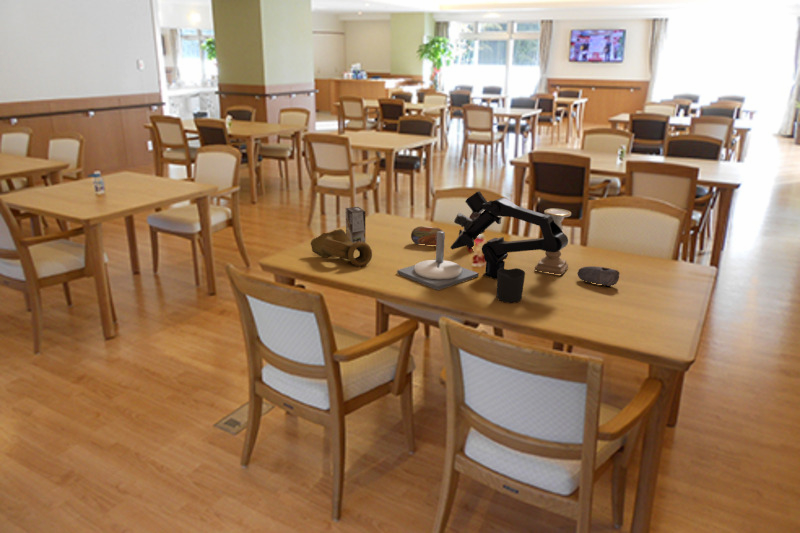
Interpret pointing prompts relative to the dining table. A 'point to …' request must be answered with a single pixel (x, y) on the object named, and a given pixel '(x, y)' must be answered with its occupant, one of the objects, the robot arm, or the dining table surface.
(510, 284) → the pen holder
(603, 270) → the perforated stone tool
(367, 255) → the brown looped sculpture
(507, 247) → the robot arm
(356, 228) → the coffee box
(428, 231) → the tin
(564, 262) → the candle holder
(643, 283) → the dining table surface
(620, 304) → the dining table surface
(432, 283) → the dial board
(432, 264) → the dial
